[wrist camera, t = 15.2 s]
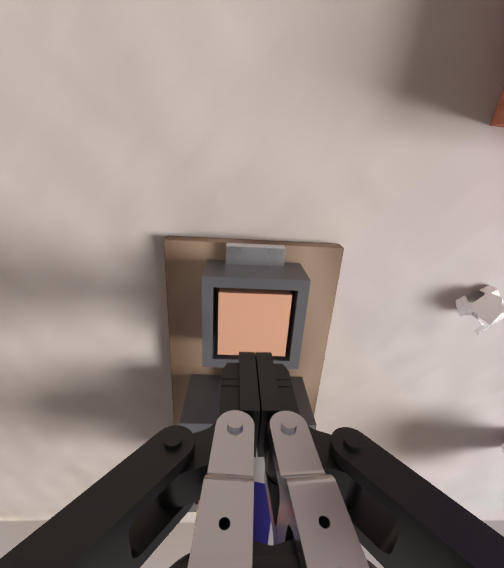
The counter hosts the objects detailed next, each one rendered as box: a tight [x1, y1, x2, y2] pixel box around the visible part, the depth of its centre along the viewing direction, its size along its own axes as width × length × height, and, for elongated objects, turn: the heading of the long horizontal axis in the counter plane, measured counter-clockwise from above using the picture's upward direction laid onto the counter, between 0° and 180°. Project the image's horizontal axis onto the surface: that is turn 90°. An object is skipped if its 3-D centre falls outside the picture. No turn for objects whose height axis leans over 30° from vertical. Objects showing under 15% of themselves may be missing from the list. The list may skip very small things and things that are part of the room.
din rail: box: [226, 243, 286, 267], centre depth 21 cm, size 4×20×1 cm, turn 177°
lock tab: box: [218, 288, 292, 356], centre depth 18 cm, size 4×4×2 cm
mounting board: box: [164, 236, 344, 425], centre depth 22 cm, size 11×20×1 cm, turn 177°
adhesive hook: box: [455, 285, 504, 334], centre depth 20 cm, size 3×3×3 cm
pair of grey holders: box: [179, 259, 316, 512], centre depth 20 cm, size 8×17×4 cm, turn 177°
